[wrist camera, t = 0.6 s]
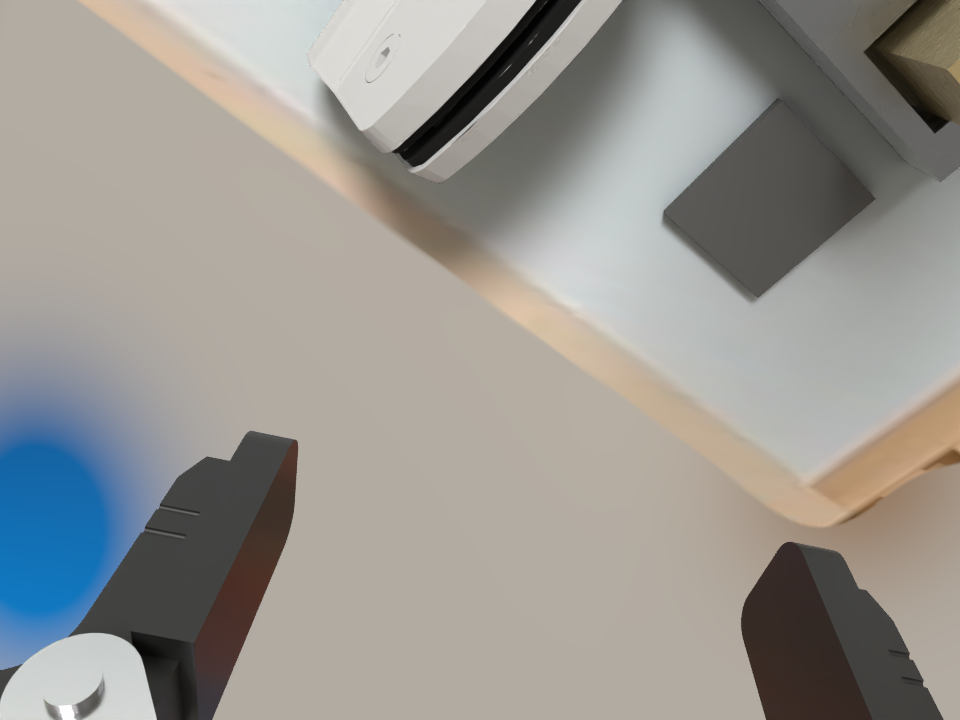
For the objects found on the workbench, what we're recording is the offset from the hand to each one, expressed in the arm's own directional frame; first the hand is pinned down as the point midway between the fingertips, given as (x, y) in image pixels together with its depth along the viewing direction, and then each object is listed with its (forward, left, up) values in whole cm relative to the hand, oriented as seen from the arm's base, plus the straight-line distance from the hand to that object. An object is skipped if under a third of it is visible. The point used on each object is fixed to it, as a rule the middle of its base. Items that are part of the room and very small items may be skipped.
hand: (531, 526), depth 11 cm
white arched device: (-5, -6, -25) cm, 26 cm away
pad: (-5, +11, -25) cm, 28 cm away
